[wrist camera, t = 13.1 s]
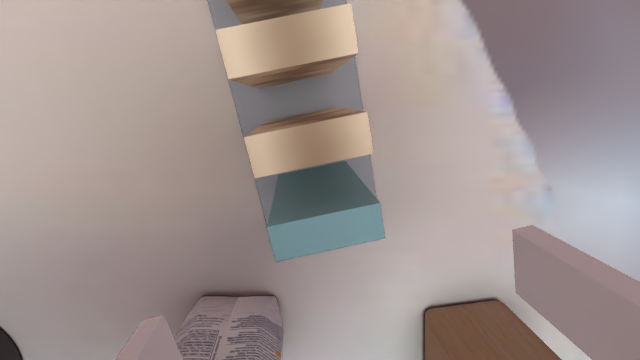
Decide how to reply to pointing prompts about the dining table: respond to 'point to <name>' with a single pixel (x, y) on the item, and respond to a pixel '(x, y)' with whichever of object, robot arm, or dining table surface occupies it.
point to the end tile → (322, 212)
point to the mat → (293, 102)
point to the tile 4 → (308, 140)
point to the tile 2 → (270, 8)
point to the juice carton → (232, 329)
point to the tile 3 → (289, 47)
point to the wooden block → (481, 334)
